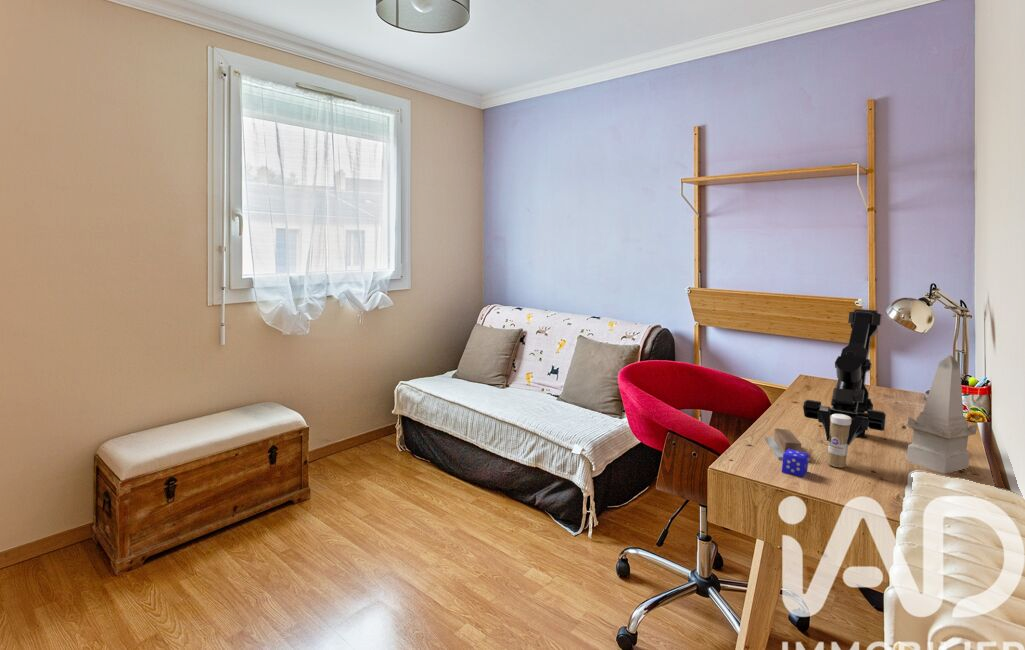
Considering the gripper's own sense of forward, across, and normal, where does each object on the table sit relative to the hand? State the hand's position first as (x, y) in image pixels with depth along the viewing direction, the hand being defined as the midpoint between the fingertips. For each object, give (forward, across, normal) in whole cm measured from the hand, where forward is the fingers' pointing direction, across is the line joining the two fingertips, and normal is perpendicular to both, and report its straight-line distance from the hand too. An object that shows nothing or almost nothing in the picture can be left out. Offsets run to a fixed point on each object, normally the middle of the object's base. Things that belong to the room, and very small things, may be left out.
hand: (837, 442), depth 143 cm
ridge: (+1, -13, +8) cm, 15 cm away
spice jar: (+4, 0, +6) cm, 7 cm away
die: (+12, -8, -2) cm, 15 cm away
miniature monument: (-9, +21, +19) cm, 30 cm away
